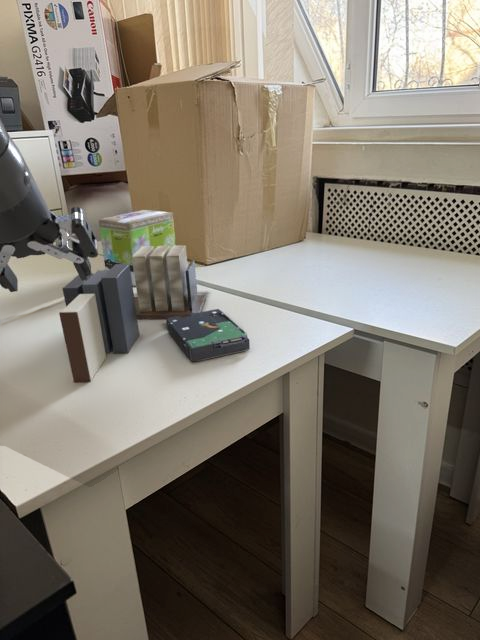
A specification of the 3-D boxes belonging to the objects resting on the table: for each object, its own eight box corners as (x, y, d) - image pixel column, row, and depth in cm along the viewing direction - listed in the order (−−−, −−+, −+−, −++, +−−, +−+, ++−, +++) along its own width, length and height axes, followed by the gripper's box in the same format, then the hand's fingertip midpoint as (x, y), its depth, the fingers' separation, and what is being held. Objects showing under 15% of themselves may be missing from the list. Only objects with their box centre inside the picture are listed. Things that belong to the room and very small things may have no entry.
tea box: (136, 287, 116) (127, 222, 110) (106, 281, 121) (95, 218, 115) (179, 270, 128) (173, 210, 121) (150, 265, 133) (142, 208, 126)
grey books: (128, 353, 84) (116, 277, 79) (75, 354, 84) (60, 278, 79) (139, 334, 91) (129, 263, 86) (91, 335, 92) (78, 264, 86)
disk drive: (166, 332, 92) (191, 363, 80) (164, 318, 91) (190, 347, 79) (219, 321, 96) (251, 350, 84) (218, 307, 95) (251, 334, 82)
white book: (90, 381, 75) (76, 312, 71) (73, 382, 75) (59, 312, 71) (106, 357, 83) (95, 293, 78) (91, 357, 83) (79, 293, 78)
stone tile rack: (85, 320, 98) (74, 260, 93) (102, 301, 108) (93, 245, 103) (198, 318, 97) (193, 257, 92) (205, 299, 107) (201, 243, 102)
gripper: (65, 146, 51) (105, 247, 66) (-84, 165, 49) (-9, 265, 64) (68, 201, 48) (110, 295, 62) (-92, 224, 46) (-11, 315, 61)
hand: (49, 280), depth 63 cm, fingers open, 8 cm apart
